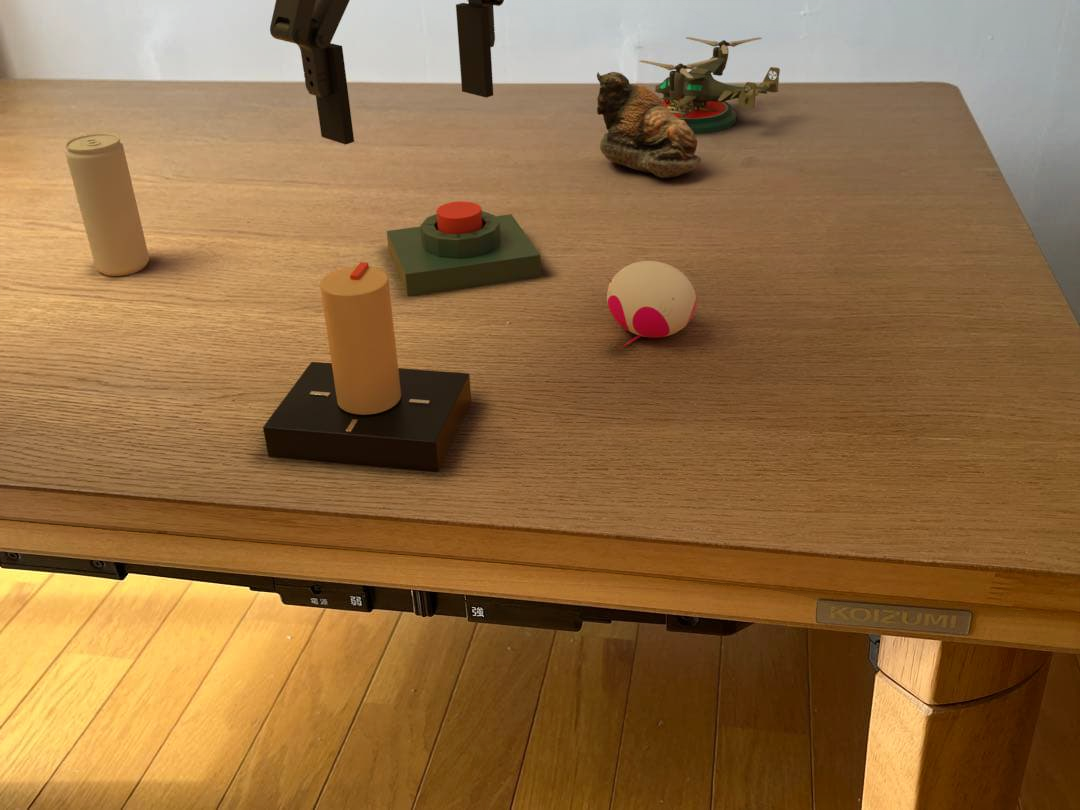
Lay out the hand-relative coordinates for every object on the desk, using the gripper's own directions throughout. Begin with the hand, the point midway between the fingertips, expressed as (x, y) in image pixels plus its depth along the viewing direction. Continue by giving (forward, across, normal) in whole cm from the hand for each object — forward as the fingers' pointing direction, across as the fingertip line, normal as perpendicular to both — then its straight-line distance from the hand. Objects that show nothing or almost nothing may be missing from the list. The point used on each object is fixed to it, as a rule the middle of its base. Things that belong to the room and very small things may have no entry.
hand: (411, 115), depth 81 cm
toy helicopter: (+18, -57, -14) cm, 62 cm away
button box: (+18, -10, -7) cm, 22 cm away
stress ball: (+18, -10, +14) cm, 25 cm away
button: (+14, -10, -7) cm, 19 cm away
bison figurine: (+18, -40, -9) cm, 44 cm away
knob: (+15, +13, +8) cm, 22 cm away
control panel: (+18, +13, +8) cm, 23 cm away
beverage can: (+18, +10, -31) cm, 37 cm away
